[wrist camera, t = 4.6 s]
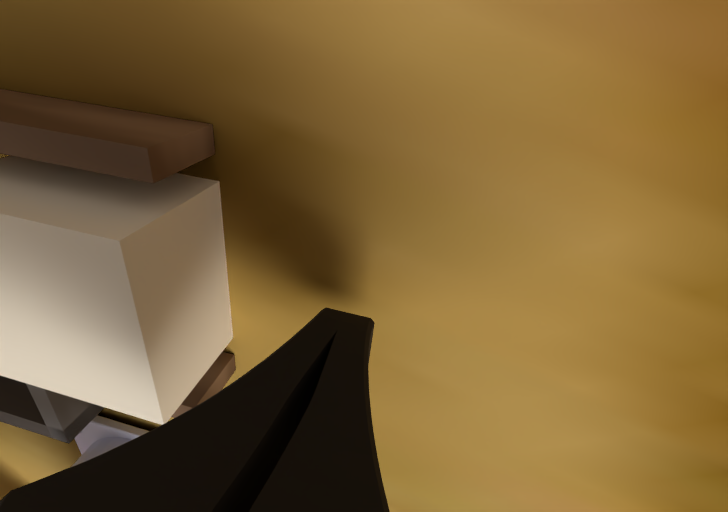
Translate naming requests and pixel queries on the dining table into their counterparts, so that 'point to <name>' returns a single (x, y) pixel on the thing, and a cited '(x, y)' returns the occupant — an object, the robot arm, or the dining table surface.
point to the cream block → (111, 285)
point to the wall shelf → (107, 156)
